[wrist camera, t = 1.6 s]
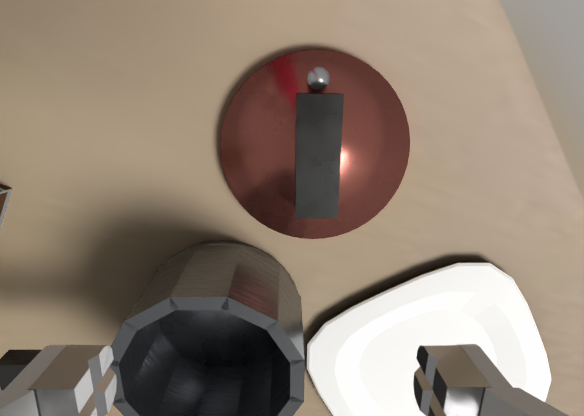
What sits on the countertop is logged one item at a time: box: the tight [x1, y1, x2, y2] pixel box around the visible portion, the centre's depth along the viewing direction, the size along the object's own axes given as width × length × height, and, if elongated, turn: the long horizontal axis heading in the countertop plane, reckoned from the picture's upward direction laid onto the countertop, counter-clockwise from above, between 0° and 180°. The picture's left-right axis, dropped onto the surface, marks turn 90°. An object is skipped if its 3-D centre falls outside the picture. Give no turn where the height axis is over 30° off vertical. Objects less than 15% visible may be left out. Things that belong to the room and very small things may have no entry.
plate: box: [307, 262, 551, 416], centre depth 37 cm, size 22×22×2 cm
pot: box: [0, 240, 305, 416], centre depth 31 cm, size 14×22×9 cm, turn 90°
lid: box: [221, 50, 410, 239], centre depth 29 cm, size 15×15×4 cm
